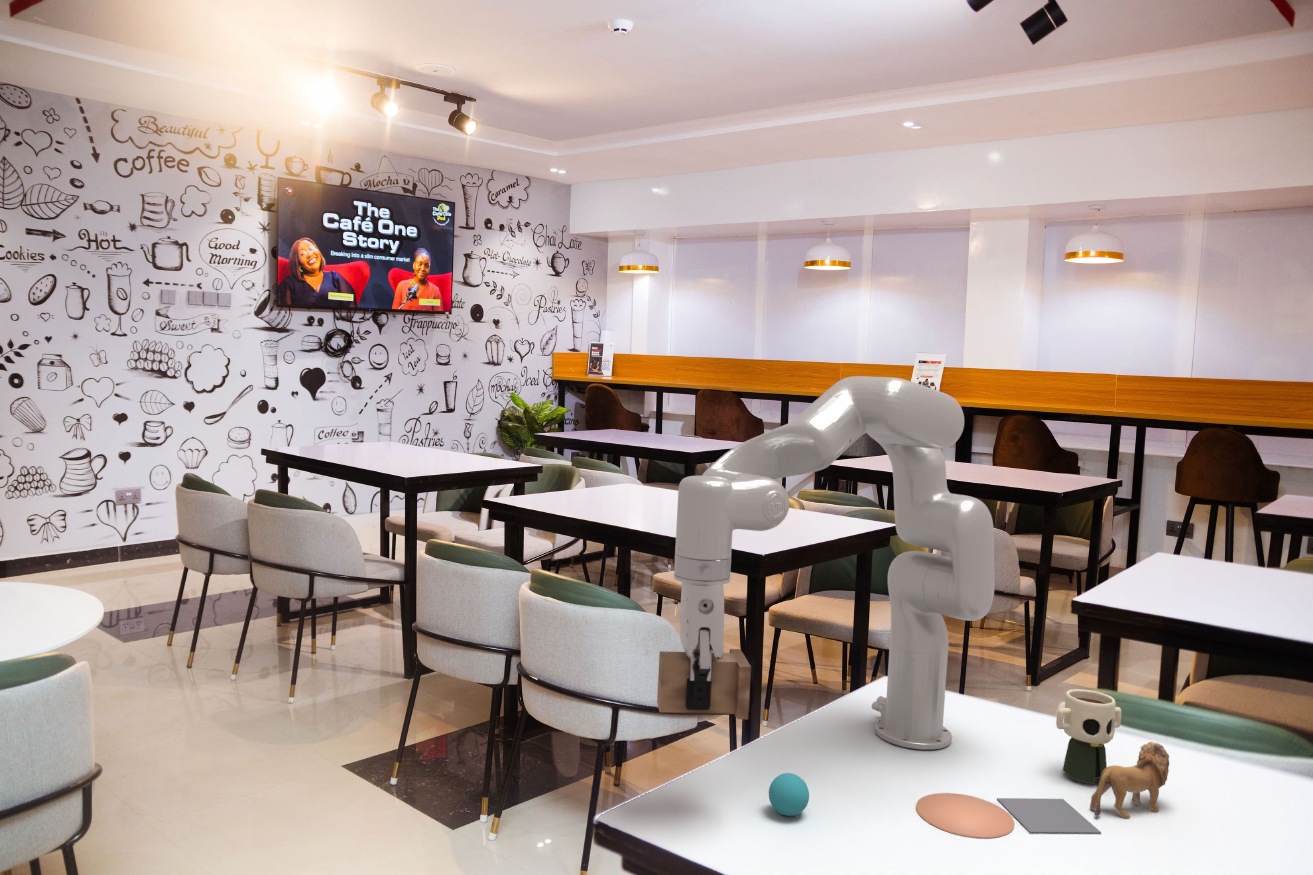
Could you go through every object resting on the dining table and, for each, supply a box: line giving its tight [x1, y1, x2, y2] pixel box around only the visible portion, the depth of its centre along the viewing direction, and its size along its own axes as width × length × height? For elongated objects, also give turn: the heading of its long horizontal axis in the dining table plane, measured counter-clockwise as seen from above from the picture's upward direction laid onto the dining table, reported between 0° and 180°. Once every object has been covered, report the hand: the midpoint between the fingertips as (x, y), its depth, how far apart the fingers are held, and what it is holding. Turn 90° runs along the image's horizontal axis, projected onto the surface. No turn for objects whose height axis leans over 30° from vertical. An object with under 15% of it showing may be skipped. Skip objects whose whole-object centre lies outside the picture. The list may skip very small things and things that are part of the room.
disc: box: [915, 792, 1015, 839], centre depth 128 cm, size 13×13×1 cm
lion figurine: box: [1089, 741, 1170, 819], centre depth 133 cm, size 15×5×9 cm, turn 120°
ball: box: [768, 772, 810, 817], centre depth 126 cm, size 6×6×6 cm
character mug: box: [1055, 688, 1122, 785], centre depth 143 cm, size 11×7×13 cm, turn 100°
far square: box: [996, 797, 1102, 835], centre depth 129 cm, size 10×10×1 cm
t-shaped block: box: [656, 648, 752, 720], centre depth 124 cm, size 12×8×7 cm
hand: (695, 701), depth 124 cm, fingers closed on t-shaped block, 4 cm apart
